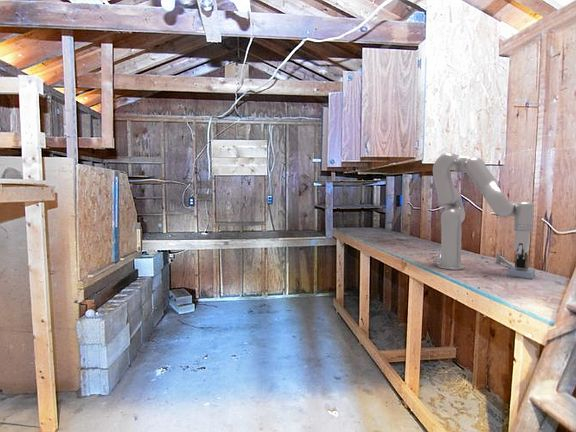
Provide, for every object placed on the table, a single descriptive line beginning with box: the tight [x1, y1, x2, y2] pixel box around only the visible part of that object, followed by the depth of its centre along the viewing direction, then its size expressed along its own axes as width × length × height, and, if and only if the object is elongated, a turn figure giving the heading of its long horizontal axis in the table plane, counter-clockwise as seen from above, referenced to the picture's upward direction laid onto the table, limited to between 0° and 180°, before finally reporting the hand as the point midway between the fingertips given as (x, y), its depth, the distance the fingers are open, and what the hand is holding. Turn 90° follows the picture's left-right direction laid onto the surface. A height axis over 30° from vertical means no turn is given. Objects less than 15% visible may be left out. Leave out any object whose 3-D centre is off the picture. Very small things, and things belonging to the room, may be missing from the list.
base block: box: [507, 267, 536, 280], centre depth 165 cm, size 9×9×3 cm
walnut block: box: [514, 253, 530, 269], centre depth 164 cm, size 5×5×6 cm
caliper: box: [495, 252, 515, 268], centre depth 184 cm, size 20×1×6 cm, turn 178°
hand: (521, 266), depth 164 cm, fingers closed on walnut block, 5 cm apart
